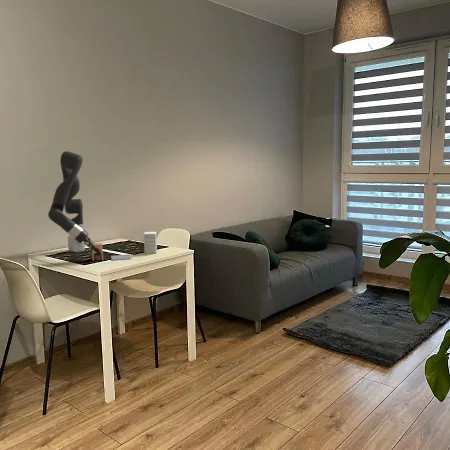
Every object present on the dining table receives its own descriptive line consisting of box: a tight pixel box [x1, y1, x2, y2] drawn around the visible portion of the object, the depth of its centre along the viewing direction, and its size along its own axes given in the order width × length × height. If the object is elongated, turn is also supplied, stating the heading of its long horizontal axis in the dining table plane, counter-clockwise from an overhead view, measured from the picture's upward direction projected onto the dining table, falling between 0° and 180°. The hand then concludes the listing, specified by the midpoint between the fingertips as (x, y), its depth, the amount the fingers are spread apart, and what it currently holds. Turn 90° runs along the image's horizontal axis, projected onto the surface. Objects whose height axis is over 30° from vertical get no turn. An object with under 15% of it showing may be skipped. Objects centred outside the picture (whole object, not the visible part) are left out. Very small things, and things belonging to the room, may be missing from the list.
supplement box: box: [143, 231, 158, 255], centre depth 283 cm, size 7×7×13 cm
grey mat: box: [110, 254, 132, 262], centre depth 270 cm, size 11×11×1 cm
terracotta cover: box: [91, 242, 104, 262], centre depth 266 cm, size 6×6×10 cm
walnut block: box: [94, 254, 102, 261], centre depth 266 cm, size 3×3×3 cm
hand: (99, 251), depth 266 cm, fingers open, 8 cm apart
